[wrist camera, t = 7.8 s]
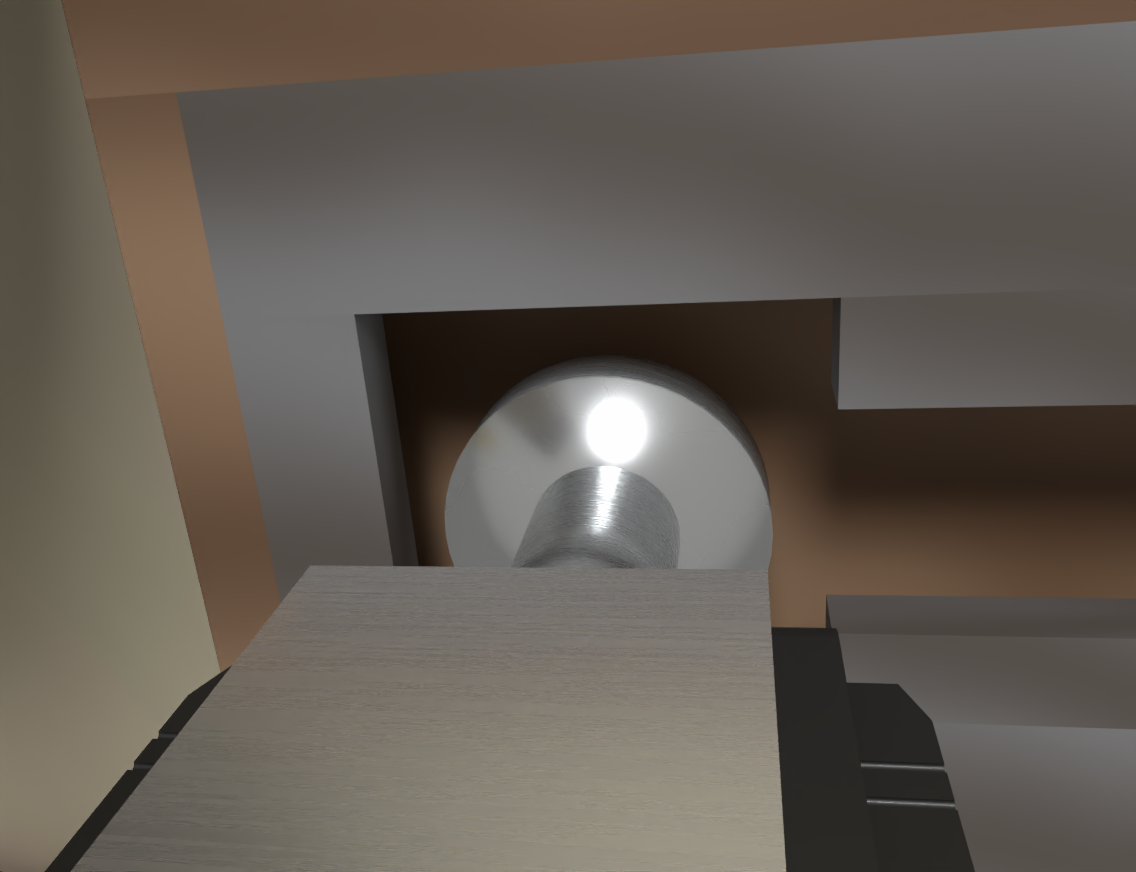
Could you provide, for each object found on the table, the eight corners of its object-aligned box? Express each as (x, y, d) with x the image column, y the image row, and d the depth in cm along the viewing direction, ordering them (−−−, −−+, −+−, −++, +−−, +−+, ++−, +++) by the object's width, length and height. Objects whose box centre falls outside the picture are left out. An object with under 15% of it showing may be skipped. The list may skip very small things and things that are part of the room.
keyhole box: (218, -2, 16) (59, -9, 12) (1955, -159, 12) (2492, -237, 8) (355, 742, 21) (274, 898, 17) (1599, 791, 17) (1834, 1001, 13)
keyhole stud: (446, 359, 14) (-21, 902, 5) (770, 350, 13) (840, 961, 5) (479, 632, 16) (161, 1391, 7) (770, 637, 15) (822, 1494, 6)
